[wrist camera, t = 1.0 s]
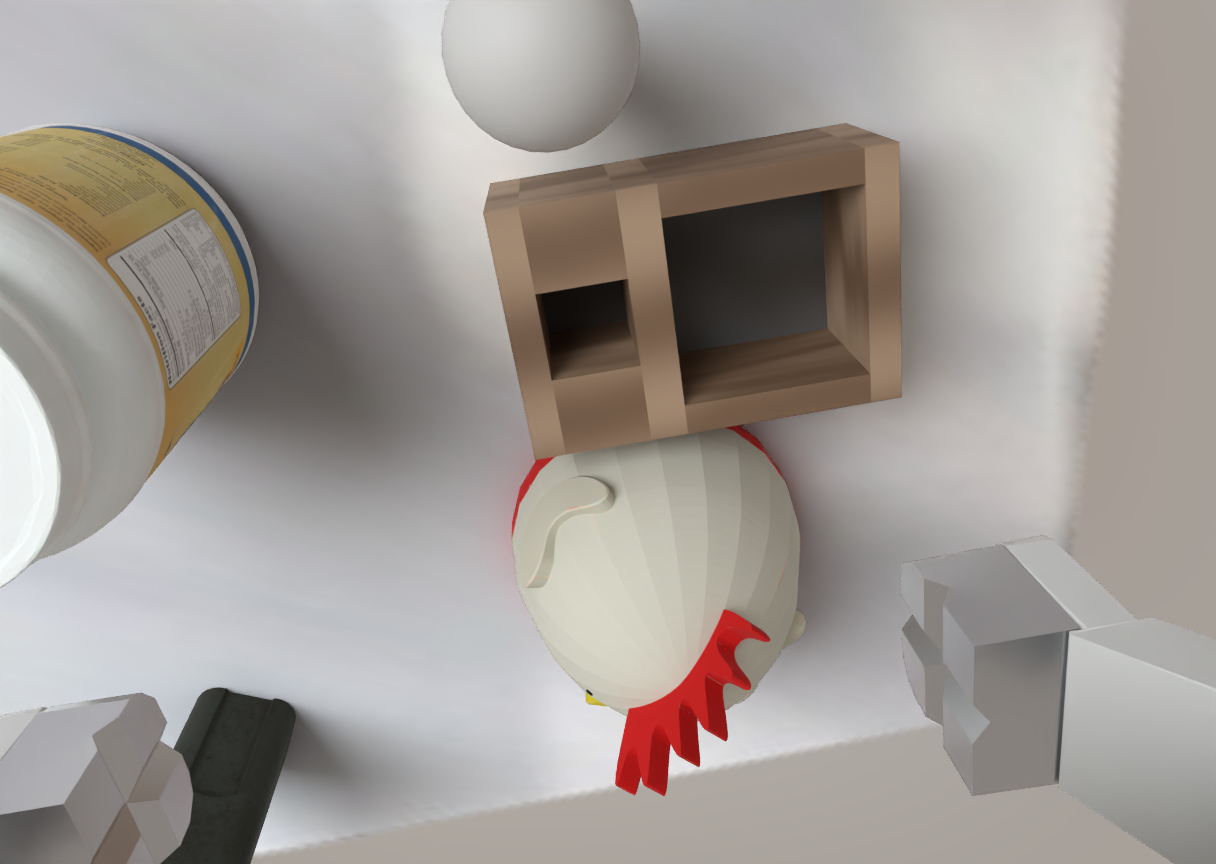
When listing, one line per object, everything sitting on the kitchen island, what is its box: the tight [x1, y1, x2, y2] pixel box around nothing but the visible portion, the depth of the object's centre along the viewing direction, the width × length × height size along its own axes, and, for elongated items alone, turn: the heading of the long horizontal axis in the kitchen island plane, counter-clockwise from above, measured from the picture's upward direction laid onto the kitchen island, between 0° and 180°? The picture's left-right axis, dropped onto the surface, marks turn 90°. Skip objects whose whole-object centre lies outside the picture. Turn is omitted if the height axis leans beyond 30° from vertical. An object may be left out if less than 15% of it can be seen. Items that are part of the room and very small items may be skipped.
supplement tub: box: [0, 123, 259, 588], centre depth 30 cm, size 12×12×17 cm
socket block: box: [483, 123, 902, 460], centre depth 37 cm, size 10×15×6 cm, turn 98°
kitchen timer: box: [512, 425, 806, 796], centre depth 38 cm, size 14×14×15 cm
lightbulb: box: [442, 0, 640, 152], centre depth 30 cm, size 6×6×11 cm
